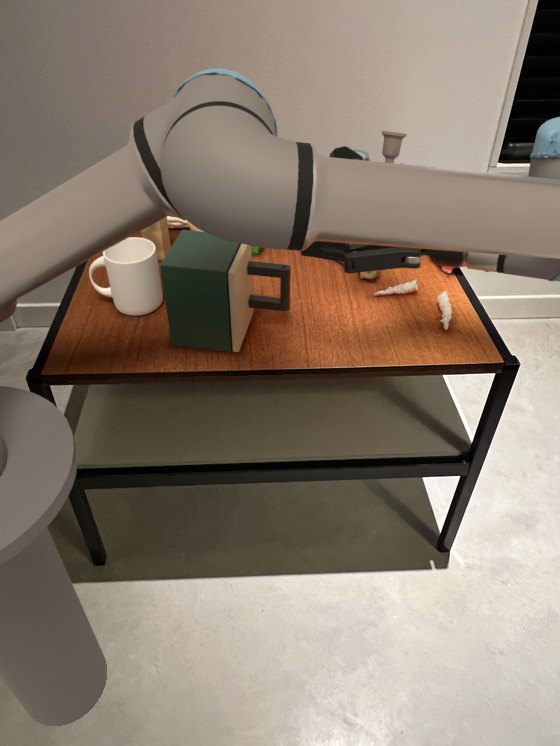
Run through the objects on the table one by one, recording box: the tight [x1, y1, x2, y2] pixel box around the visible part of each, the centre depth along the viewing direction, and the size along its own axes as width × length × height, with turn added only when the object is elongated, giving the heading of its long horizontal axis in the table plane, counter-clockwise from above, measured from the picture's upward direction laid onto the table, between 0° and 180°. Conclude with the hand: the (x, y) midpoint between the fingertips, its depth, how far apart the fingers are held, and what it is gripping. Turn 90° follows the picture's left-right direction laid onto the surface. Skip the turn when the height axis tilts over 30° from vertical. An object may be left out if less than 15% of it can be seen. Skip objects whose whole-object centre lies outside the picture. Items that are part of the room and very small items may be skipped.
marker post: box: [140, 217, 172, 261], centre depth 114 cm, size 4×4×12 cm
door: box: [228, 244, 292, 353], centre depth 94 cm, size 8×11×15 cm
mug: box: [88, 236, 164, 317], centre depth 102 cm, size 9×12×11 cm
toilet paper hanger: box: [381, 130, 408, 164], centre depth 137 cm, size 20×10×14 cm
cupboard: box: [159, 229, 241, 353], centre depth 95 cm, size 10×11×15 cm
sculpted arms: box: [372, 278, 453, 331], centre depth 105 cm, size 15×6×6 cm
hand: (319, 222), depth 87 cm, fingers open, 13 cm apart
